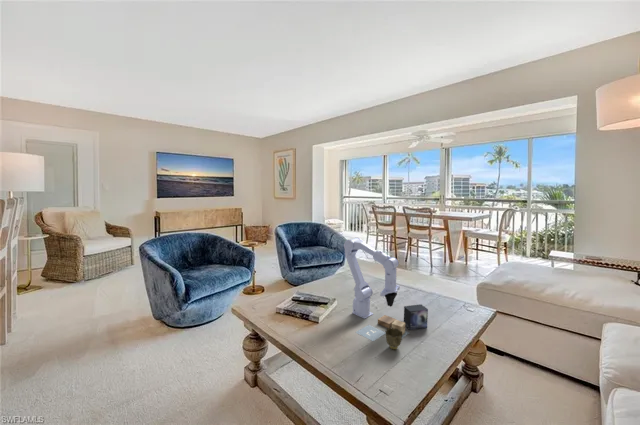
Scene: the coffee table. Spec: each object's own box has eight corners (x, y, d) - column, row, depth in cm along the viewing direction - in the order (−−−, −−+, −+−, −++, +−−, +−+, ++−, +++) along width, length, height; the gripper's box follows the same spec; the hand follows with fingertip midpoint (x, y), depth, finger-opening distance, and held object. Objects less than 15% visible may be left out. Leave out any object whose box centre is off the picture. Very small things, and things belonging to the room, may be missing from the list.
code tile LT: (355, 332, 139) (355, 332, 139) (368, 325, 146) (368, 324, 146) (373, 341, 131) (373, 341, 131) (386, 333, 138) (386, 332, 138)
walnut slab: (377, 324, 147) (377, 319, 147) (384, 320, 152) (384, 314, 152) (389, 329, 142) (389, 323, 142) (396, 324, 147) (396, 319, 147)
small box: (409, 331, 140) (410, 311, 139) (402, 324, 146) (403, 305, 145) (427, 328, 142) (428, 309, 141) (420, 322, 149) (421, 303, 148)
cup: (389, 341, 131) (389, 325, 130) (404, 347, 126) (405, 330, 125) (382, 348, 125) (382, 332, 124) (397, 355, 120) (398, 337, 119)
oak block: (391, 333, 138) (391, 323, 137) (395, 328, 142) (395, 319, 141) (401, 336, 135) (401, 326, 134) (405, 332, 139) (405, 322, 138)
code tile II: (387, 332, 138) (387, 332, 138) (395, 327, 144) (395, 326, 144) (401, 339, 133) (401, 338, 133) (409, 333, 138) (409, 332, 138)
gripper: (388, 286, 137) (388, 312, 138) (404, 279, 146) (404, 304, 148) (377, 282, 142) (376, 307, 143) (393, 276, 151) (392, 300, 153)
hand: (390, 305), depth 146 cm, fingers closed
